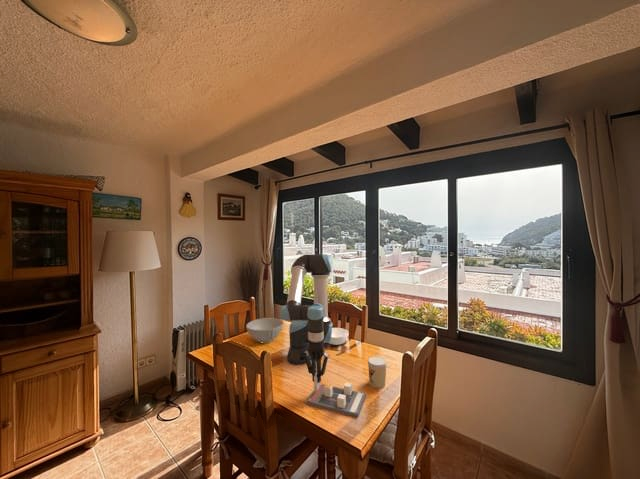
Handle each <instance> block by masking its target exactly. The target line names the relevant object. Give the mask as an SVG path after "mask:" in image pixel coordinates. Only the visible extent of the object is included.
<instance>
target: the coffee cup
mask: <svg viewBox="0 0 640 479" xmlns="http://www.w3.org/2000/svg"><path fill="white" fill-rule="evenodd" d="M367 364H368V366H367V369H368V375H369V377H368V379H369V385H370V386H371V387H372V388H375V389H383V388H384V387H386V380H387V379H386V378H387V373H386V372H387V361H386V359H384V357H380V356H372V357H369V359H368V360H367Z"/></svg>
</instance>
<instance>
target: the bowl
mask: <svg viewBox="0 0 640 479" xmlns="http://www.w3.org/2000/svg"><path fill="white" fill-rule="evenodd" d="M349 335H350V334H349V330H347V329H346V328H341V327H332V335H331V341H330V342H327V344H330V345H333V346H340V345H343V344H344V343H346V341H347V339H348V338H349Z"/></svg>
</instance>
